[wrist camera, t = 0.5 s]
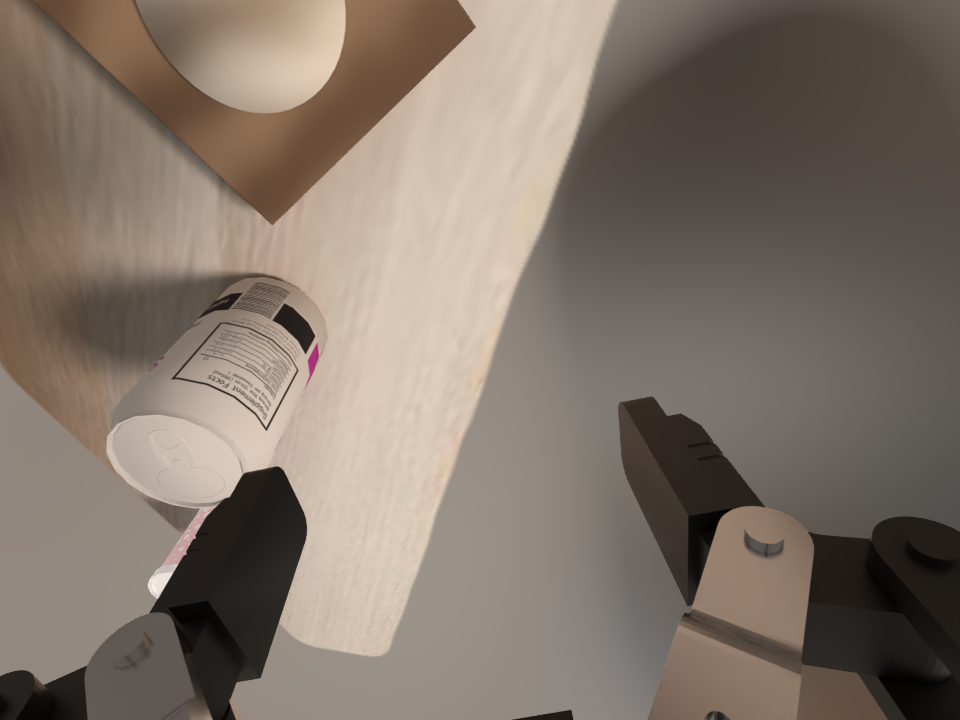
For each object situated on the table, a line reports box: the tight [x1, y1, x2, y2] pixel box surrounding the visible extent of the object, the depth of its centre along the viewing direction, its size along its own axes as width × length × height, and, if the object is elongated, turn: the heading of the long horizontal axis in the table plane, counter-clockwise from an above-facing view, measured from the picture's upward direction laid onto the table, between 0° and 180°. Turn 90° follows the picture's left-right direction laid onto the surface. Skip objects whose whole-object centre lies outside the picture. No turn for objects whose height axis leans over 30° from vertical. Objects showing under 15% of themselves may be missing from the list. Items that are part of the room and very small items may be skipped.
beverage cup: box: [148, 507, 215, 599], centre depth 45 cm, size 6×6×14 cm
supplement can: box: [106, 277, 327, 508], centre depth 32 cm, size 8×8×15 cm
